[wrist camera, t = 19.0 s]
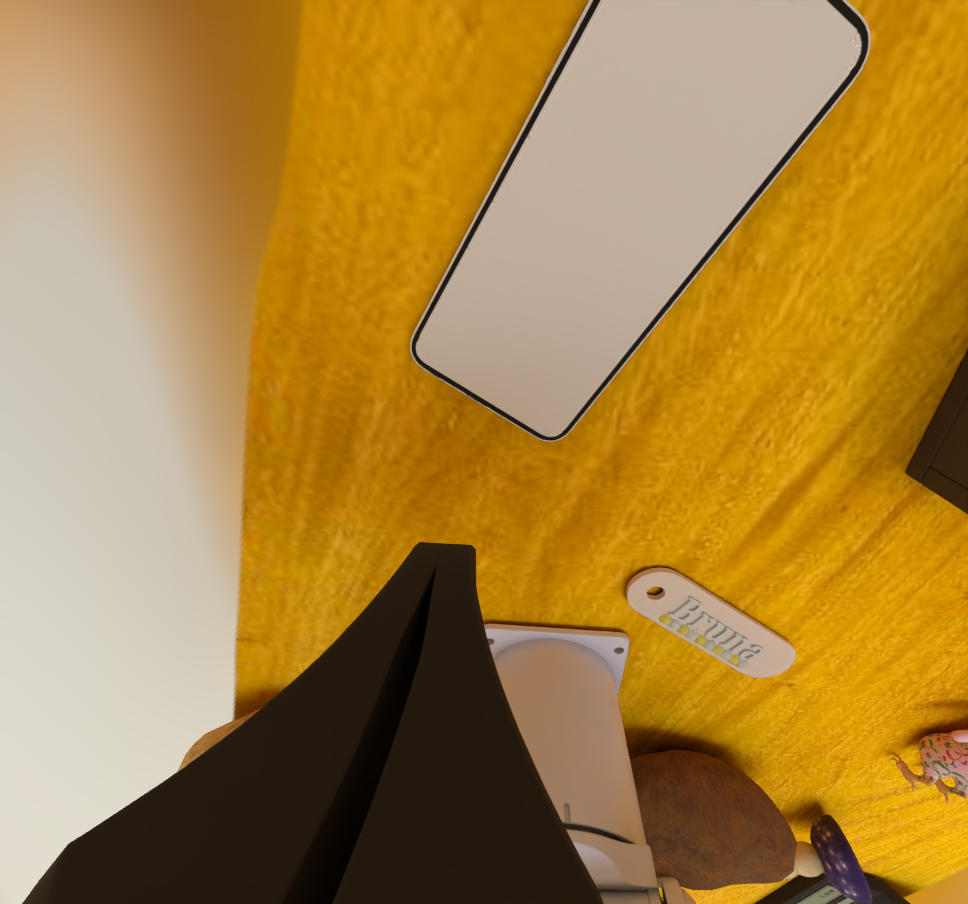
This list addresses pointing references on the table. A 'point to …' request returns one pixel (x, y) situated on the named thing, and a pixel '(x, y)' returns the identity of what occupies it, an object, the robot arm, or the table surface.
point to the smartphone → (627, 191)
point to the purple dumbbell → (830, 860)
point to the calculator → (827, 893)
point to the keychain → (709, 623)
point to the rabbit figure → (942, 762)
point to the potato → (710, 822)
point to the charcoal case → (947, 446)
